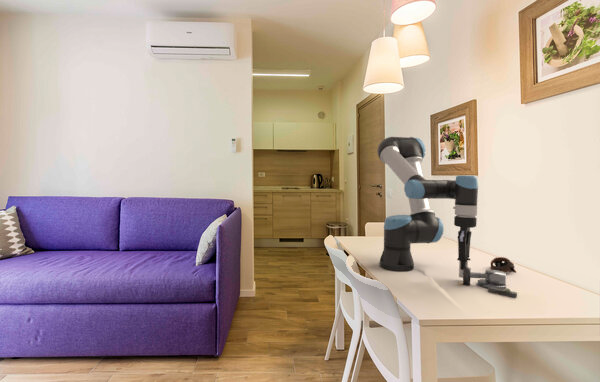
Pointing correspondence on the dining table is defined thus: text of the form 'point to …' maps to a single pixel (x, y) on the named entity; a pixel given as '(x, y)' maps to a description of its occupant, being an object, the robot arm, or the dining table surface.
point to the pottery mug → (502, 264)
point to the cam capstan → (486, 278)
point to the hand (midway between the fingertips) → (463, 277)
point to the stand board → (500, 291)
